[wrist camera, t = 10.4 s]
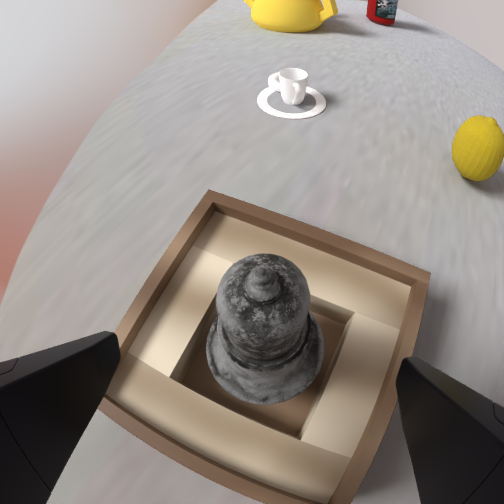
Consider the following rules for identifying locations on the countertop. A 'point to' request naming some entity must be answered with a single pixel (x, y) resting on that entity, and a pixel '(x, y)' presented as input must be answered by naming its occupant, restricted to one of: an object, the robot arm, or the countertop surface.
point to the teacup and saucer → (291, 93)
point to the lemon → (478, 148)
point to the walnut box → (280, 414)
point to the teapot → (291, 14)
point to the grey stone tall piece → (264, 331)
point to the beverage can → (382, 11)
